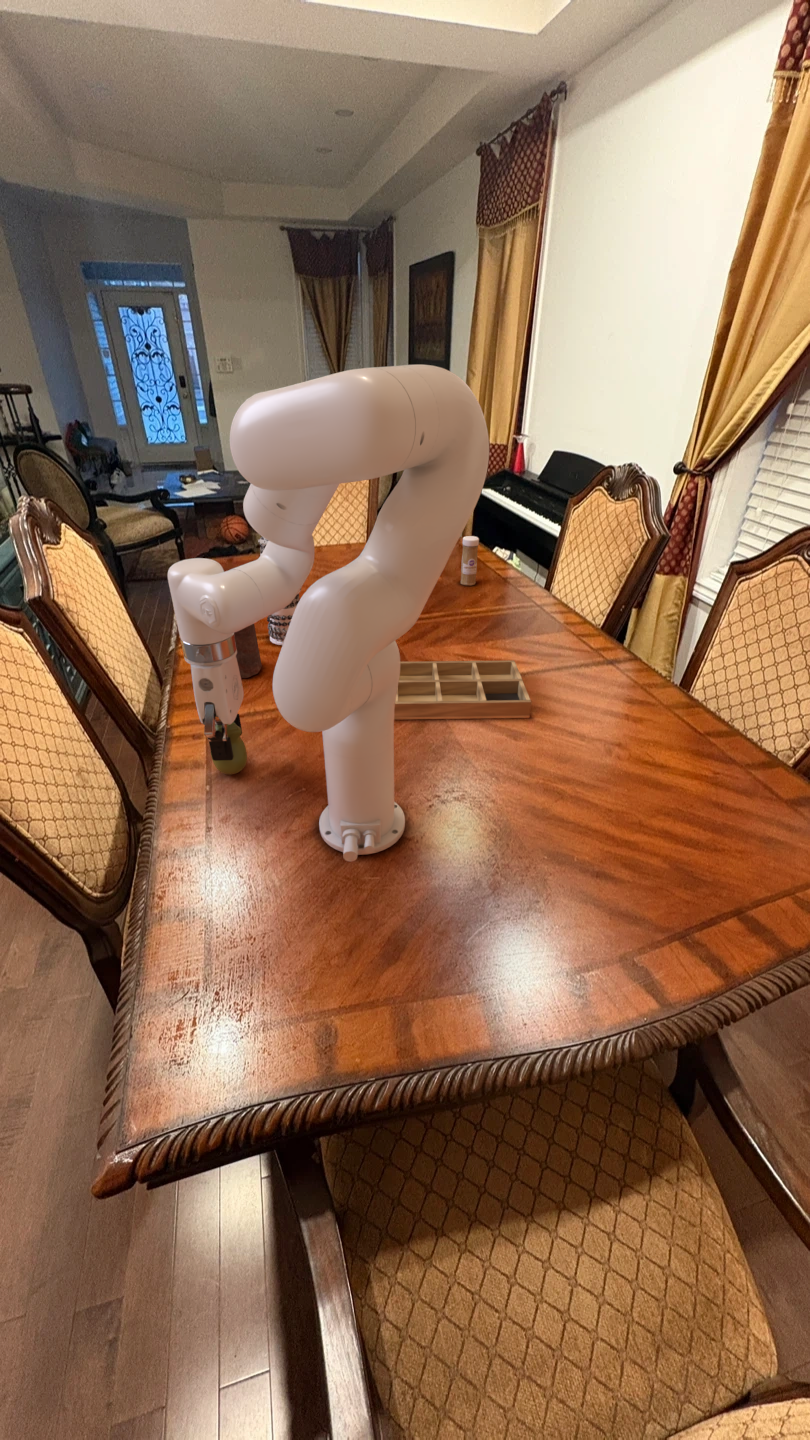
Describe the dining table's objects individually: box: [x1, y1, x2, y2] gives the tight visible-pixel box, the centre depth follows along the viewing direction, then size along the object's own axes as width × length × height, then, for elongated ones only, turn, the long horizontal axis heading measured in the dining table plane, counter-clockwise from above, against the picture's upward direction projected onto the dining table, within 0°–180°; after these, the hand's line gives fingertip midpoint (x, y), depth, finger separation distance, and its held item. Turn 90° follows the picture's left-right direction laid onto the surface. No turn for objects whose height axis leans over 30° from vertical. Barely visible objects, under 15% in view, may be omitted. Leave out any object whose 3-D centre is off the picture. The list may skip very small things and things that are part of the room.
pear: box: [210, 718, 248, 775], centre depth 98 cm, size 6×5×10 cm
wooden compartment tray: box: [394, 659, 532, 721], centre depth 121 cm, size 17×26×4 cm
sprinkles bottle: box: [459, 535, 480, 587], centre depth 175 cm, size 5×5×14 cm
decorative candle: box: [257, 536, 302, 646], centre depth 139 cm, size 9×9×25 cm
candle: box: [234, 623, 263, 679], centre depth 126 cm, size 8×7×20 cm
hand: (227, 746), depth 98 cm, fingers open, 6 cm apart
